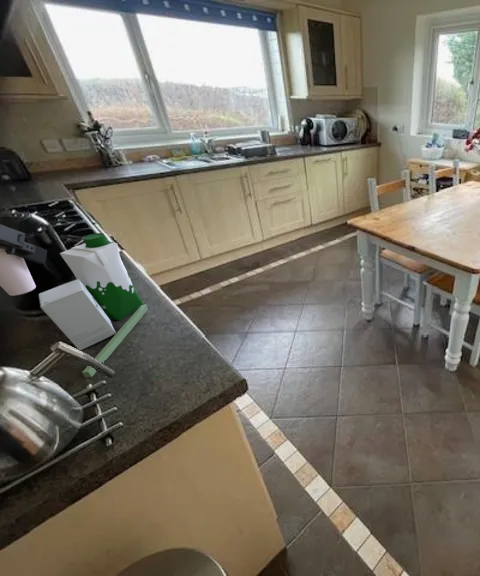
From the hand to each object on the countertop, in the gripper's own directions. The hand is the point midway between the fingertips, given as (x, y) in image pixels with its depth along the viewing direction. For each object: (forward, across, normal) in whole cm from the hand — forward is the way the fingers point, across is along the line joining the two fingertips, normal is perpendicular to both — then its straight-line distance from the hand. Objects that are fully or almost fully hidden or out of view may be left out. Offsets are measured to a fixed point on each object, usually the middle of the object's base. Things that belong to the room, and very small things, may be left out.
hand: (22, 258), depth 61 cm
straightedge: (+17, +7, -14) cm, 23 cm away
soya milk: (+26, +1, -6) cm, 27 cm away
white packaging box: (+19, +1, -13) cm, 22 cm away
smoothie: (+1, 0, -6) cm, 6 cm away
